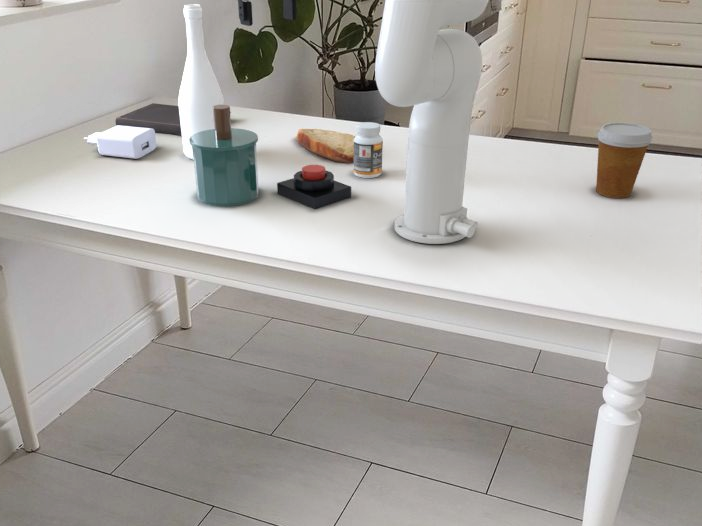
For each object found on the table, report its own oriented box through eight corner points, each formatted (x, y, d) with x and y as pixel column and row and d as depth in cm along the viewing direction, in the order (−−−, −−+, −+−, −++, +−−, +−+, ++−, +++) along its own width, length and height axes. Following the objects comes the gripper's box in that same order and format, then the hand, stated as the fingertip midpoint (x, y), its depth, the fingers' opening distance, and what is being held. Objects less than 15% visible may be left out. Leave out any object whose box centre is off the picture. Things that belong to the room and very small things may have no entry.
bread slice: (300, 135, 176) (299, 119, 174) (375, 141, 172) (375, 124, 170) (275, 158, 161) (274, 141, 159) (357, 165, 157) (357, 147, 155)
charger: (99, 142, 173) (157, 148, 168) (76, 154, 165) (135, 160, 161) (96, 121, 170) (154, 126, 166) (71, 132, 163) (132, 138, 159)
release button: (330, 177, 140) (330, 168, 139) (312, 183, 137) (312, 173, 137) (314, 171, 143) (314, 162, 142) (297, 177, 140) (296, 168, 139)
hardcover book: (154, 112, 195) (152, 103, 194) (231, 121, 187) (230, 111, 186) (116, 128, 183) (114, 118, 182) (197, 138, 175) (196, 128, 174)
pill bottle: (379, 179, 149) (381, 129, 144) (351, 178, 150) (351, 128, 145) (383, 170, 154) (385, 121, 149) (355, 169, 155) (356, 120, 150)
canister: (270, 196, 142) (267, 141, 136) (220, 211, 136) (215, 154, 130) (235, 181, 149) (231, 128, 144) (186, 195, 143) (180, 140, 137)
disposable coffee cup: (585, 198, 140) (597, 133, 134) (588, 181, 147) (600, 120, 141) (639, 204, 137) (654, 138, 131) (640, 187, 145) (654, 124, 138)
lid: (271, 144, 137) (270, 107, 133) (215, 159, 130) (211, 119, 126) (232, 130, 145) (229, 94, 141) (176, 143, 138) (172, 106, 134)
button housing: (351, 197, 141) (351, 177, 139) (315, 209, 136) (314, 188, 134) (313, 183, 148) (312, 163, 146) (277, 194, 143) (276, 173, 141)
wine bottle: (235, 156, 163) (225, 5, 147) (196, 164, 158) (180, 9, 142) (215, 146, 169) (203, 0, 154) (176, 153, 165) (160, 4, 149)
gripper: (232, -83, 123) (239, 29, 132) (316, -86, 132) (318, 19, 141) (209, -84, 128) (217, 24, 137) (292, -87, 137) (294, 15, 146)
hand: (268, 22), depth 139 cm, fingers open, 9 cm apart
